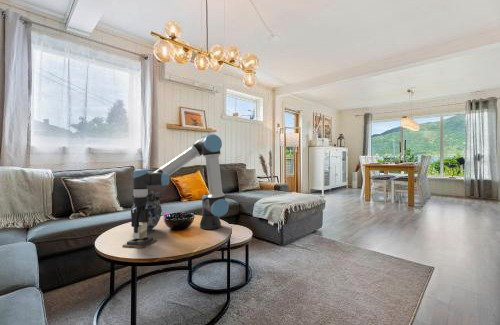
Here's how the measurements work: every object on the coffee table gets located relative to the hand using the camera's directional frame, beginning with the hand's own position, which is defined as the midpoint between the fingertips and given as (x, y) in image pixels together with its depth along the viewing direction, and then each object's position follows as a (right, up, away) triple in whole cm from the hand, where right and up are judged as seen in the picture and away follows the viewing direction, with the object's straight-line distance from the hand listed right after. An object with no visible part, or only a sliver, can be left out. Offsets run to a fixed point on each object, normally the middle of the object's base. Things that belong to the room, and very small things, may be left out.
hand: (140, 236), depth 138 cm
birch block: (0, 0, 0) cm, 0 cm away
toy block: (+5, -5, +48) cm, 49 cm away
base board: (0, -4, 0) cm, 4 cm away
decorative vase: (-6, -4, +22) cm, 23 cm away
